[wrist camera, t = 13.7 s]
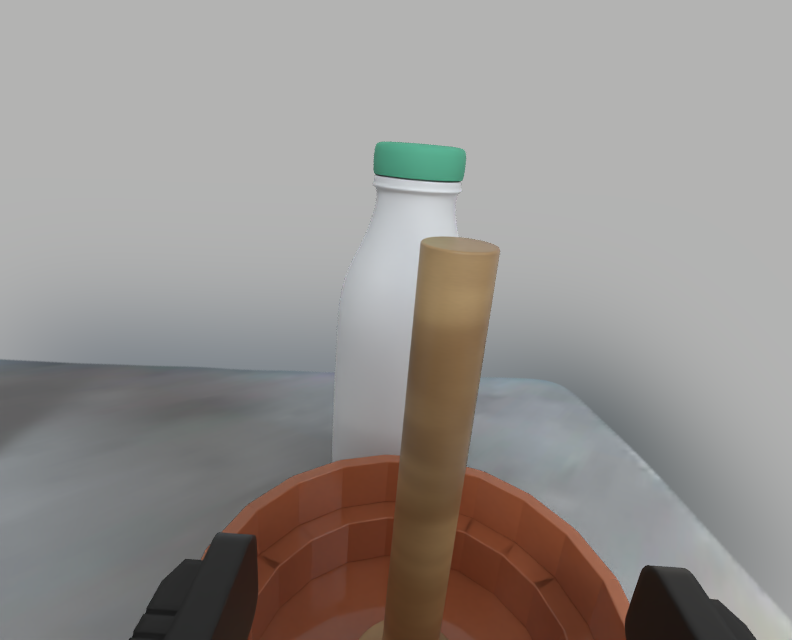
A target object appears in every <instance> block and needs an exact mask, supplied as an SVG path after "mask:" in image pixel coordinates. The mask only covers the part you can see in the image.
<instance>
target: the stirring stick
mask: <svg viewBox="0 0 792 640" xmlns="http://www.w3.org/2000/svg"><path fill="white" fill-rule="evenodd" d="M499 254H500V249H499V247H497V246H496V245H494V244H491V243H488V242H485V241H480V240H475V239H469V238H460V237H445V236H440V237H429V238H425V239H423V240H422V241H421V243H420V253H419V264H418V274H417V284H416V295H415V305H414V316H413V326H412V336H411V347H410V357H409V367H408V378H407V388H406V399H405V409H404V419H403V430H402V440H401V450H400V461H399V471H398V482H397V492H396V502H395V513H394V523H393V534H392V544H391V554H390V565H389V575H388V585H387V596H386V606H385V617H384V620H383V621H381V622H379V623H377V624H375V625H373V626H372V627H370V628H369V629H368V630H367V631H366V632H365V633H364V634H363V635H362V636H361V637H360V638H359V640H448V638H447V637H446V636H445V635H444V634H443V633H441V632H440V631H441V625H442V618H443V612H444V605H445V599H446V593H447V586H448V580H449V574H450V567H451V561H452V554H453V548H454V542H455V535H456V529H457V522H458V516H459V510H460V503H461V497H462V491H463V484H464V478H465V471H466V465H467V459H468V452H469V446H470V439H471V433H472V427H473V420H474V414H475V408H476V401H477V395H478V388H479V382H480V376H481V369H482V363H483V356H484V349H485V343H486V337H487V331H488V324H489V318H490V311H491V305H492V299H493V293H494V286H495V279H496V273H497V266H498V261H499Z"/></svg>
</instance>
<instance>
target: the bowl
mask: <svg viewBox="0 0 792 640" xmlns="http://www.w3.org/2000/svg"><path fill="white" fill-rule="evenodd" d="M399 461H400V455H389V454H388V455H387V454H385V455H376V456H368V457H360V458H352V459H343V460H339V461H335V462H332V463H329V464H326V465H323V466H321V467H318V468H315V469H312V470H309V471H306V472H303V473H300V474H297V475H295V476H293V477H290V478H289V479H287V480H286V481H284V482H282V483H281V484H279V485H278V486H276V487H274V488H273V489H271V490H270V491H268V492H267V493H265V494H263V495H262V496H260V497H259V498H257V499H255V500H254V501H252V502H251V503H249V504H248V505H247V506H245V508H244V509H243V510H242V511H241V512H240V513H239V514H238V515H237V516H236V517H235V518H234V519H233V520H232V521H231V523H230V524H229V525H228V526H227V527H226V528H225V529H224V530H223V531H222V533H235V534H249V535H255V536H256V539H257V563H258V599H257V606H256V611H255V616H254V620H253V623H252V626H251V630H250V633H249V636H248V639H247V640H359V638H360V637H361V636H362V635H363V634H364V633H365V632H366V631H367V630H368V629H369V628H370V627H372V626H373V625H375V624H377V623H379V622H381V621H383V620H384V617H385V606H386V596H387V585H388V575H389V565H390V554H391V544H392V534H393V523H394V513H395V502H396V492H397V482H398V471H399ZM209 546H210V545H209ZM209 546H208V548H207V549H206V550H205V552H204V554H203V556H202V558H201V560H203V559H204V557H205V555H206V553H207V551H208V549H209ZM629 605H630V603H629V601H628V599H627V597H626V595H625V593H624V591H623V589H622V587H621V585H620V583H619V581H618V580H617V578H616V577H615V576H614V574H613V573H612V572H611V571H610V570H609V568H608V567H607V566H606V565H605V564H604V562H603V561H602V560H601V559H600V558H599V556H598V555H597V554H596V553H595V552H594V550H593V549H592V548H591V547H590V546H589V545H588V543H587V542H586V541H585V540H584V539H583V537H582V536H581V535H580V534H579V533H578V531H576V530H575V529H574V528H573V527H572V526H570V525H569V524H568V523H567V522H565V521H564V520H563V519H561V518H560V517H559V516H558V515H556V514H555V513H554V512H552V511H551V510H550V509H548V508H547V507H546V506H545V505H543V504H542V503H541V502H539V501H538V500H537V499H536V498H534V497H533V496H531V495H530V494H529V493H526V492H524V491H522V490H520V489H518V488H516V487H514V486H512V485H510V484H508V483H506V482H504V481H502V480H500V479H498V478H496V477H494V476H492V475H490V474H488V473H486V472H483V471H480V470H477V469H473V468H469V467H466V471H465V478H464V484H463V491H462V497H461V503H460V510H459V516H458V522H457V529H456V535H455V542H454V548H453V554H452V561H451V567H450V574H449V580H448V586H447V593H446V599H445V605H444V612H443V618H442V625H441V631H440V632H441V633H443V634H444V635H445V636H446V637H447V638H448V640H626V635H625V618H626V614H627V611H628V608H629Z"/></svg>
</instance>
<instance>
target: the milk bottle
mask: <svg viewBox="0 0 792 640" xmlns="http://www.w3.org/2000/svg"><path fill="white" fill-rule="evenodd" d="M465 164H466V153H465V151H464V150H463V149H460V148H456V147H448V146H438V145H428V144H416V143H402V142H379V143H377V144H376V147H375V153H374V173H375V174H376V175H375V178H374V182H373V185H374V186H375V187H376V189H377V199H376V205H375V209H374V212H373V215H372V219H371V221H370V224H369V227H368V229H367V232H366V234H365V236H364V238H363V241H362V243H361V245H360V247H359V248H358V250H357V252H356V254H355V256H354V258H353V260H352V262H351V264H350V266H349V268H348V271H347V274H346V276H345V279H344V283H343V287H342V291H341V297H340V303H339V312H338V325H337V340H336V361H335V362H336V363H335V384H334V410H333V438H332V462H335V461H339V460H343V459H352V458H360V457H368V456H376V455H385V454H387V455H388V454H389V455H400V450H401V440H402V430H403V419H404V409H405V399H406V388H407V378H408V367H409V357H410V347H411V336H412V326H413V316H414V305H415V295H416V284H417V274H418V264H419V253H420V243H421V241H422V240H423V239H425V238H429V237H440V236H445V237H459V235H458V230H457V223H456V212H455V206H456V198H457V196H458V194H459V193H461V192H462V190H461V182H460V181H462V180H463V177H464V172H465Z"/></svg>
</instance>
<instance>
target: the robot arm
mask: <svg viewBox="0 0 792 640" xmlns="http://www.w3.org/2000/svg"><path fill="white" fill-rule="evenodd" d="M257 599H258V563H257V539H256V536H255V535H249V534H235V533H222V532H219V533H217V534H216V535H215V537H214V539H213V540H212V542H211V544H210V546H209V549H208V551H207V553H206V555H205V557H204V559H203V560H191V559H185V560H184V561H183V562H182V563H181V564H180V565H178V566H177V567H176V568H175V569H174V570H173V571H172V572H171V573H170V574H169V575H168V576H167V577H166V578H165V579H164V580H163V581H162V582H161V584H160V585H159V587H158V589H157V591H156V593H155V594H154V596H153V598H152V600H151V601H150V603H149V605H148V607H147V610H146V613H145V614H143V616H142V617H141V619H140V621H139V623H138V625H137V626H136V628H135V630H134V632H133V636H132V638H130V639H129V640H247V639H248V636H249V633H250V630H251V626H252V623H253V620H254V616H255V611H256V606H257ZM625 635H626V640H756V638H755V637H754V636H753V634H752V633H751V631H750V630H749V629H748V627H747V626H746V625H745V624H744V623H743V622H742V621H741V620H740V619H739V618H737V617H736V616H735V615H734V614H733V613H732V612H731V611H730V610H729V609H728V608H727V607H725V606H724V605H723V604H722V603H721V602H720V601H719V600H714V599H709V597H708V596H707V594H706V593H705V591H704V590H703V588H702V587H701V585H700V584H699V582H698V581H697V580H696V578H695V577H694V575H693V574H692V573H691V572H690V571H688V570H687V569H685V568H676V567H662V566H649V565H647V566H645V567H644V568H643V569H642V571H641V573H640V576H639V579H638V582H637V585H636V588H635V591H634V594H633V597H632V599H631V602H630V605H629V608H628V611H627V614H626V618H625Z"/></svg>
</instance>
